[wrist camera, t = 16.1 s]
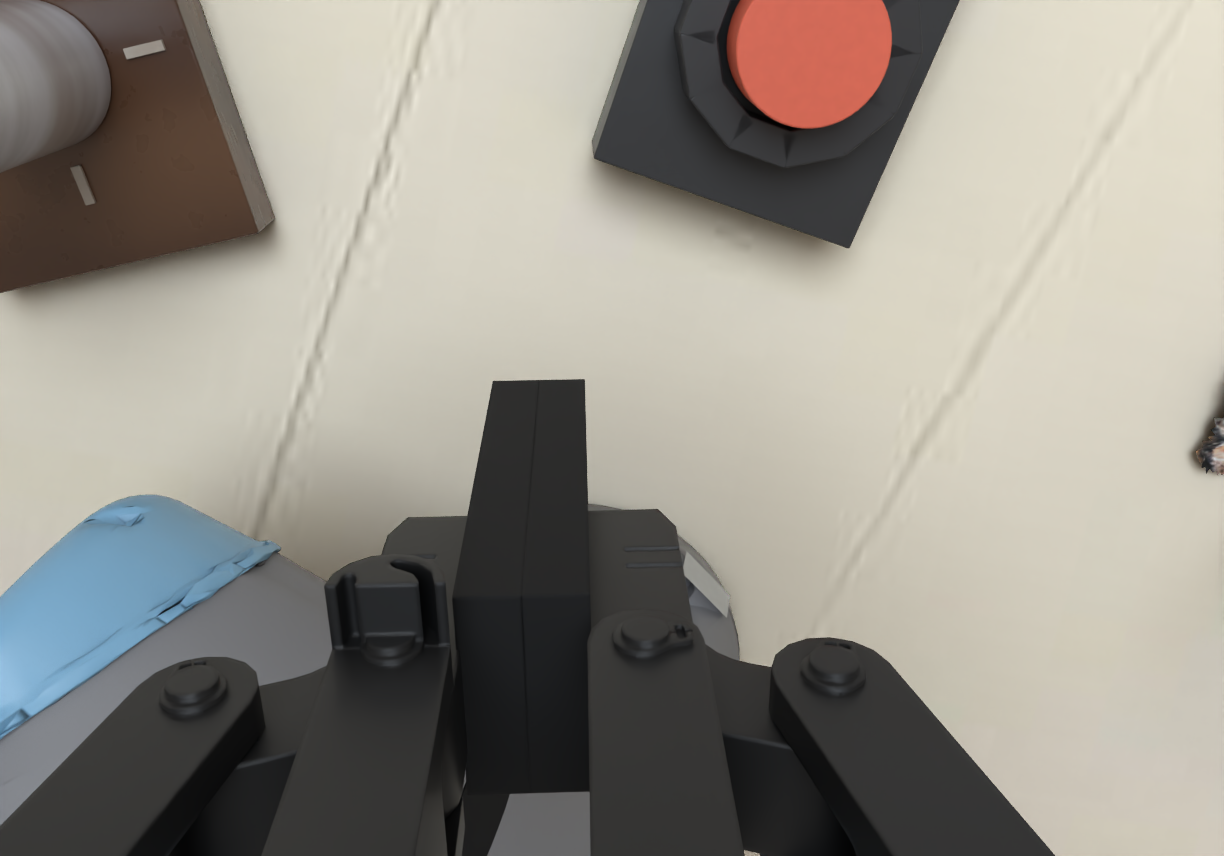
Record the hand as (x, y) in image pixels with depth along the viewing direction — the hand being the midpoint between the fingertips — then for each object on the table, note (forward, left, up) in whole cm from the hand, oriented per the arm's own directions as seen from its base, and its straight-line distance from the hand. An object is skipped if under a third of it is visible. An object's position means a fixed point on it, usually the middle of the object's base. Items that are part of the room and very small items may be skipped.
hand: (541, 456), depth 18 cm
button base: (+5, -8, -26) cm, 28 cm away
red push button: (+5, -8, -21) cm, 23 cm away
